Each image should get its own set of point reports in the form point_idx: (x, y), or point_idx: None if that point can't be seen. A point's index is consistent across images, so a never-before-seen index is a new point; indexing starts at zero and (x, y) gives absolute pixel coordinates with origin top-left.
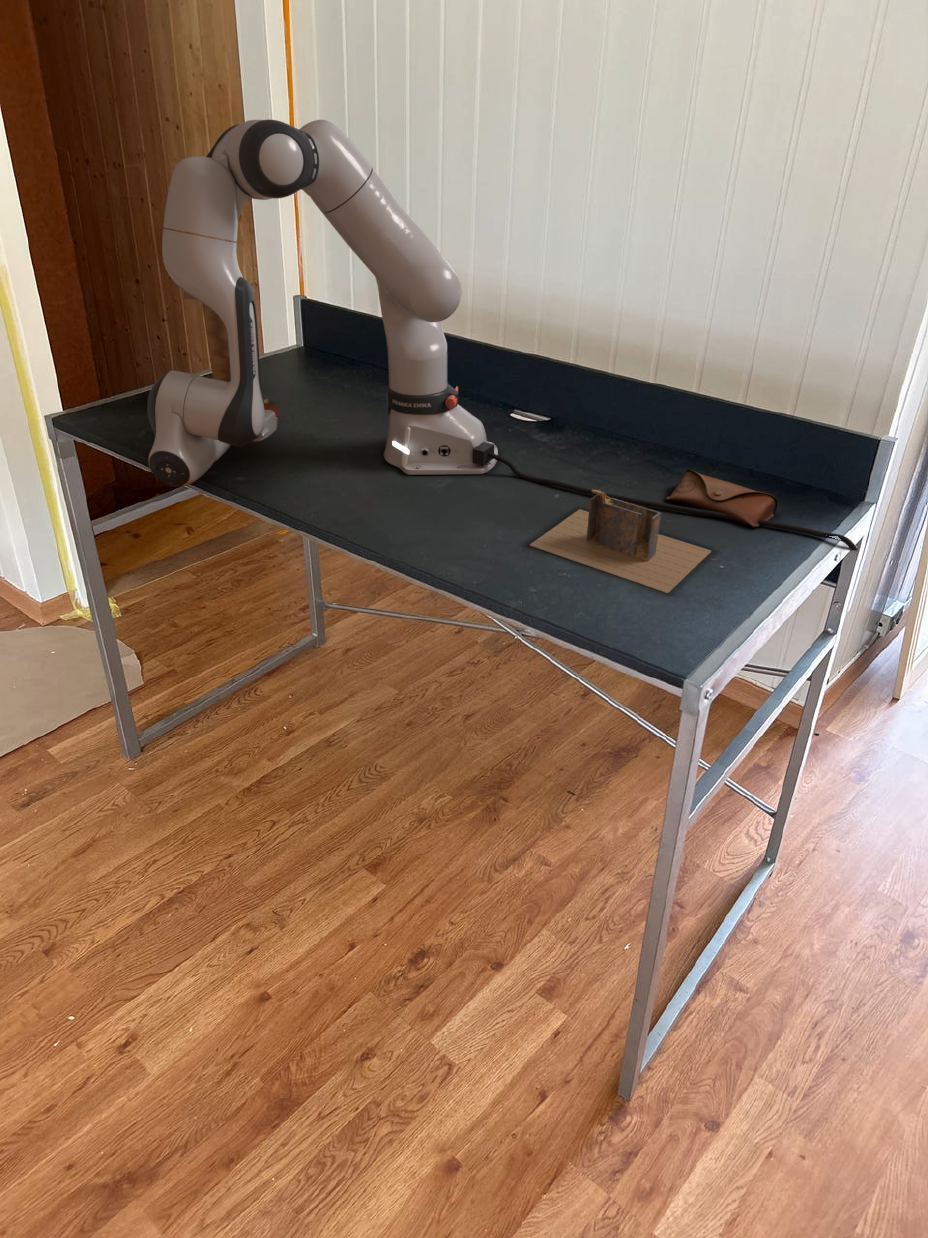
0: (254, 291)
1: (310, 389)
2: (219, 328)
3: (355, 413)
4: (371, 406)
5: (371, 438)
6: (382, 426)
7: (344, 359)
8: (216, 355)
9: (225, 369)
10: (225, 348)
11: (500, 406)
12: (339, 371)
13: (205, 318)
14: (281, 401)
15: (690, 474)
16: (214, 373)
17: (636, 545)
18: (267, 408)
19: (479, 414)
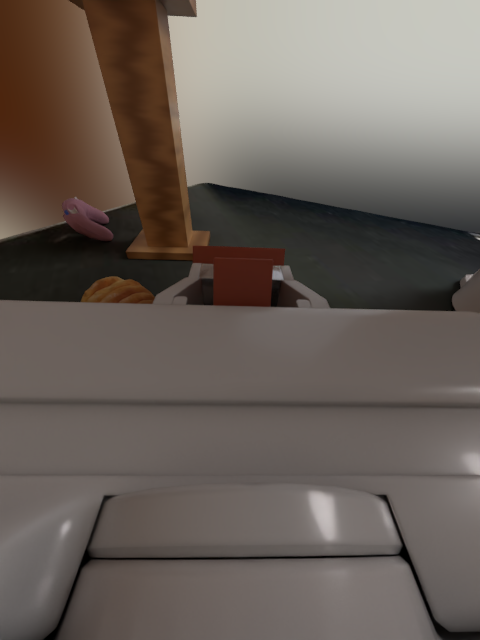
0: (196, 15)
1: (242, 217)
2: (136, 93)
3: (322, 246)
4: (327, 235)
5: (396, 289)
6: (379, 264)
7: (247, 190)
8: (137, 158)
9: (155, 186)
10: (152, 143)
11: (449, 229)
12: (253, 200)
13: (102, 64)
14: (222, 233)
15: None
16: (137, 194)
17: None
18: (280, 261)
19: (449, 240)
